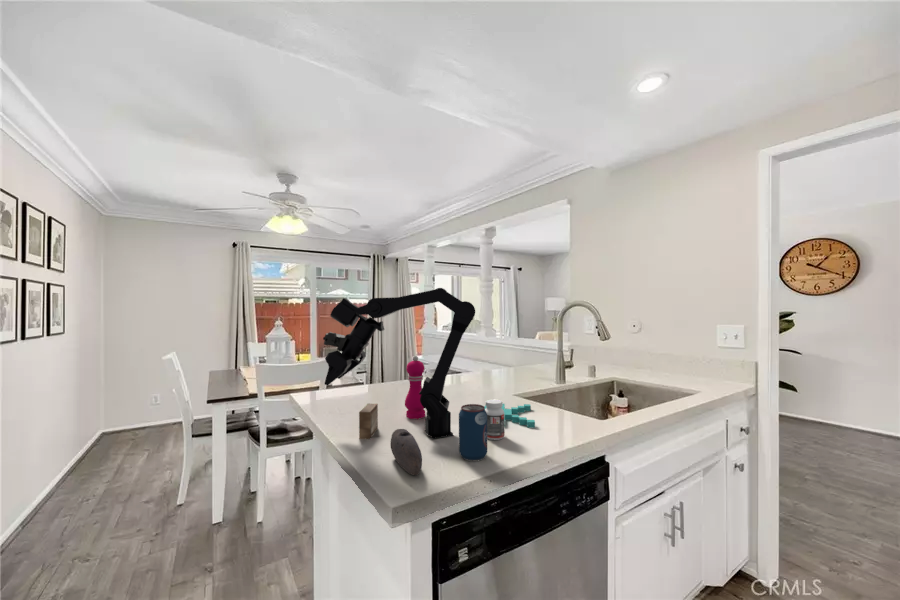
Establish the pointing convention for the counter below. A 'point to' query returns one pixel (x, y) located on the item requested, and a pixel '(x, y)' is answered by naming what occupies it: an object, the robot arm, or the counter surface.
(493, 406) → the pill bottle
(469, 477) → the counter surface
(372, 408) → the walnut block
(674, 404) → the counter surface
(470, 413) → the soda can
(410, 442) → the perforated stone tool
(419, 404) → the pepper mill
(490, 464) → the counter surface
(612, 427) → the counter surface
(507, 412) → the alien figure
